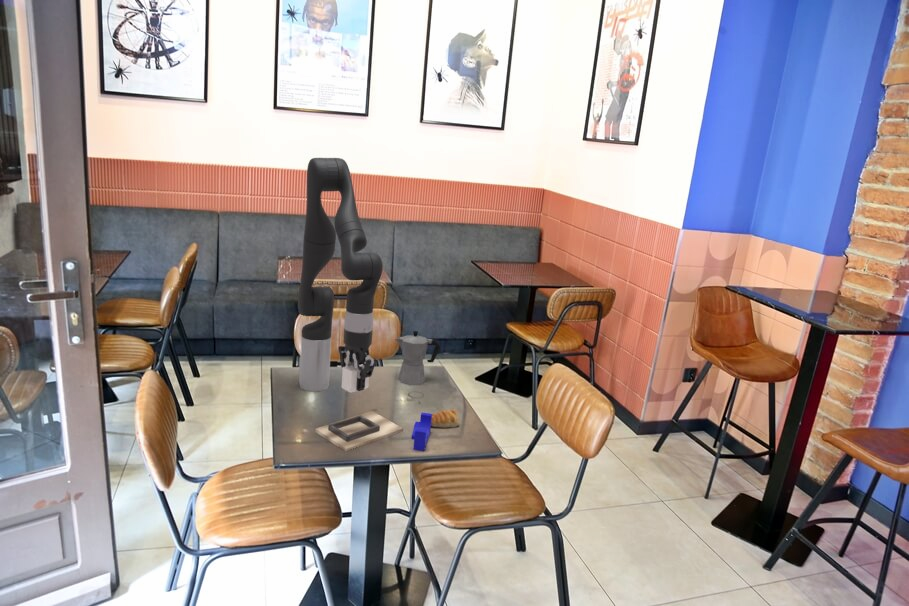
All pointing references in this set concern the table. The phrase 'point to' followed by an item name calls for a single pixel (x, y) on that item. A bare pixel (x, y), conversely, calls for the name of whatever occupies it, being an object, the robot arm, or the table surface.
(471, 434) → the table surface
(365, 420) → the board
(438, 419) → the pastry
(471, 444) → the table surface
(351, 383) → the keyed plug
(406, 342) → the coffeepot
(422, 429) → the cable clip
